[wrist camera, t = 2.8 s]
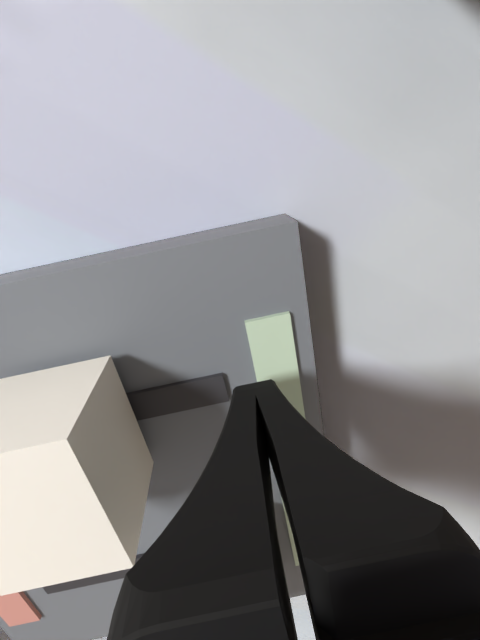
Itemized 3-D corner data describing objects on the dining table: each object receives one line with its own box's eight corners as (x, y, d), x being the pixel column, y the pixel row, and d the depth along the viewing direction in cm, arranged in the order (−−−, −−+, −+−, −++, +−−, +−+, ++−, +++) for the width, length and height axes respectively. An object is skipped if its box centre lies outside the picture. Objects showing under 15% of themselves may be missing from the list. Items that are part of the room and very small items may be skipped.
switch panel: (40, 611, 21) (22, 658, 19) (-190, 315, 13) (-264, 342, 11) (330, 550, 21) (343, 590, 19) (284, 213, 13) (298, 221, 11)
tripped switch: (55, 483, 14) (0, 596, 10) (-5, 379, 12) (-100, 474, 8) (153, 462, 14) (133, 567, 10) (110, 355, 12) (66, 439, 8)
